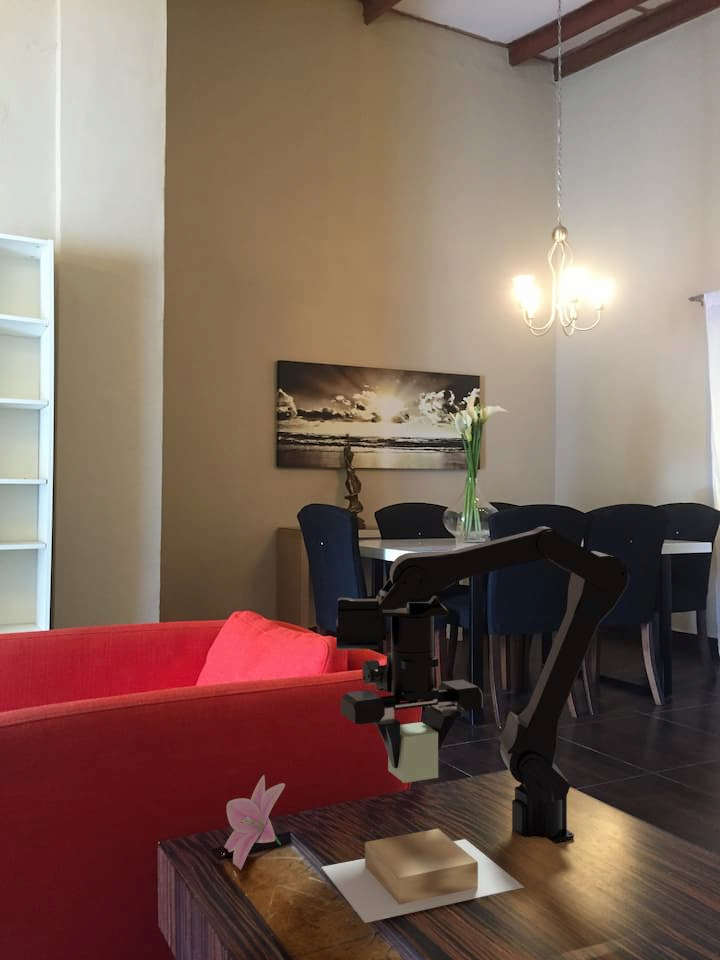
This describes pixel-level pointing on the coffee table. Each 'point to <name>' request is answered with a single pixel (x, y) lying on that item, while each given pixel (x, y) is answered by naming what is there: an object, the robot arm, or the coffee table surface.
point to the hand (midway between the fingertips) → (413, 764)
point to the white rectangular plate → (380, 904)
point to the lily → (251, 821)
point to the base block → (420, 865)
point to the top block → (416, 753)
